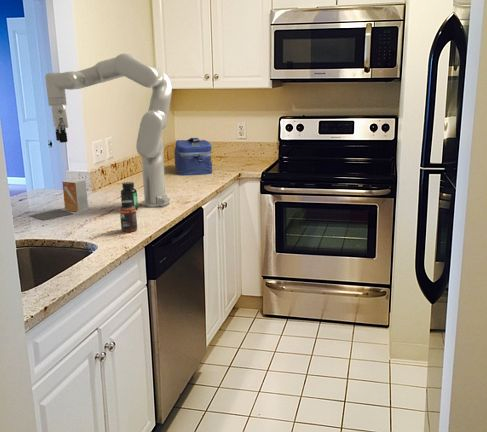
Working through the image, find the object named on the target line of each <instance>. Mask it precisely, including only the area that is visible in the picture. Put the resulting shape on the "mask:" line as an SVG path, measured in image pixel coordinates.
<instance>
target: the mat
mask: <svg viewBox="0 0 487 432" xmlns="http://www.w3.org/2000/svg"><path fill="white" fill-rule="evenodd" d="M74 213H75V212H72V211H69V210H65V209H60V208H59V209H55V210H54V209H53V210H49V211H44V212H40V213H34V214H30V215H28V216H29V217H31V218H34V219H38V220H41V221H48V220H52V219H56V218H61V217H66V216H72V215H74Z"/></svg>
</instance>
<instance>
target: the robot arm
mask: <svg viewBox="0 0 487 432" xmlns="http://www.w3.org/2000/svg"><path fill="white" fill-rule="evenodd" d="M124 77H125V78H127V79H129V80H130V81H133V82H135V83H136V84H138V85H139V86H140V85H141V86H142V87H145V88H148V89H152V93H151V97H150V100H149V107H148V110H147V111H146V113H144V114H143V116H142V118H141V120H140V124H139V128H138V133H137V139H136V147H135V148H136V152H137V153H138V156H140V157H141V166H142V169H141V170H142V181H143V182H142V183H143V195H144V196H143V197H144V200H142V201H141V202H140V204H141V206H142V207H147V208H148V207H149V208H156V207H157V208H158V207H164V206H167V205H169V204H170V201H171V198H170V197H168V194H166V180H165V177H166V176H165V163H164V162H165V160H164V159H165V157H164V155H165V153H164V151H165V147H164V146H165V145H164V142H163V139H162V138H161V137H162V132H163V130H165V128H166V126H167V123H168V115H169V112H170V107H171V106H170V105H171V100H172V94H173V88H172V87H173V85H172V82H171V80H170V78H169V76H168V75H167V74H166V72H164V71H163V69H161V68H159V67H156V66H149V65H148V64H145V63H144V62H142V61H140V60H138V58H137V57H136V56H135V55H134V54H131V53H125V52H124V53H120V54H118V55H116V57H112V58H109V59H104V60H101V61H99V62H97V63H96V64H95V65H93V66H91V67H88V68H84V69H81V70H76V71H64V72H49V73H46V74H45V76H44V79H45V87H46V95H47V102H48V106H49V107H51V114H52V115H51V116H52V122H53V127H54V128H55V139H56V141H57V142H59V143H62V144H63V143H68V134H67V130H66V129H68V128H69V123H68V116H67V111H66V106H67V96H66V90H68V91H69V90H70V91H71V90H81V89H85V88H87V87H91V86H95V85H98V84H101V83H106V82H108V81H109V82H110V81H114V80H117V79H120V78H124Z"/></svg>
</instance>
